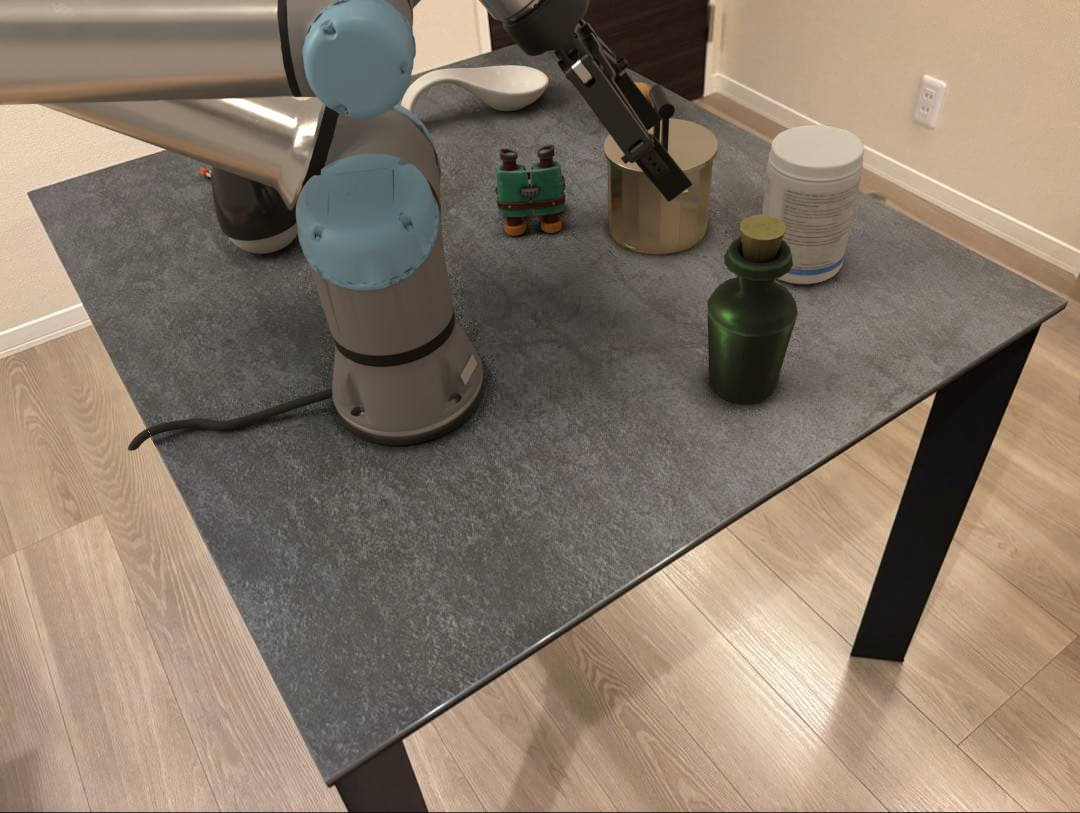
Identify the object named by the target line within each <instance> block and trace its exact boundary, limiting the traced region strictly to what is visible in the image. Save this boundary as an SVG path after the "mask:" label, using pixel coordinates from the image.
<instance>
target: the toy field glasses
mask: <svg viewBox="0 0 1080 813" xmlns="http://www.w3.org/2000/svg"><path fill="white" fill-rule="evenodd" d="M536 155H537V158H539V162H536V163H533V164H532V165H531V168H530V169H531V170H530V171H527V168H526V165H523V164H520V163H517V160H518V156H519V155H518V152H517V151H515V150H513V149H510V148H500V149H499V159H500V161H502V164H500V165H498V166H497V168H496V187H495V189H494V192H495V194H496V196H497V197H496V201H495V202H496V207H497V208H498V214H499V215H500V216H501V217H503V218H506V219H505V220H504V222H503V227H504V232H505V234H507V235H508V236H512V237H513V236H514V237H516V236H520V235H523V233H524V232H526V230H527V224H526V219H525V218H524V217H531V216H534V217H536V216H537V217H538V216H541V217H540V220H539V221H540V223H539V224H540V229H541V230H542V231H543V232H545V233H549V234H550V233H551V234H554V233H557V232H559V231H561V229H562V227H563V220H562V216H560V213H562V212H563V211H565V209H566V193H565V190H566V177H565V175H563V174H562V167H561V163H560V162H559V161H557V160H554V156H555V146H554V144H548V145H544V146H542V147H540V148H538V149H537V151H536ZM529 181H530V183H529Z"/></svg>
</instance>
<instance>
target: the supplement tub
mask: <svg viewBox="0 0 1080 813" xmlns="http://www.w3.org/2000/svg"><path fill="white" fill-rule="evenodd" d="M864 154H865V145H864V142H863V141H862V140H861V138H859V137H858V136H857V135H856V134H855V133H853V132H850V131H849V130H847V129H843V128H840V127H837V126H831V125H822V124H809V125H808V124H807V125H799V126H794V127H791V128H788V129H786V130H783V131H781V132H780V133H778V134H777V135H776V136H775V137H774V138H773V140H772V142H771V147H770V152H769V153H768V159H767V160H768V162H767V167H766V177H765V185H764V193H763V194H764V195H763V202H762V212H761V215H769V216H773V217H776V218H778V219H780V220H782V221H783V222H784V224H785V225H786V231H785V234H784V236H783V239H782V240H784V241H785V242H786V243H787V244H788V246H789V247H790V250H791V255H792V260H793V266H792V268H791V270H790V271H789V272H788V273H787V274H785V275H783V276H782V277H780V278H776V279H777V280H779V281H783V282H786V283H789V284H795V285H810V284H818V283H822V282H824V281H827V280H829V279H831V278H833V277H834V276H836V274H838V273H839V271H840V270H841V269H842V267H843V264H844V261H845V256H846V251H847V247H848V246H847V245H848V241H849V236H850V231H851V227H852V222H853V217H854V212H855V207H856V203H857V198H858V193H859V187H860V183H861V179H862V174H863V169H864V168H863V167H864Z"/></svg>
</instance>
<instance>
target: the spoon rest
mask: <svg viewBox="0 0 1080 813" xmlns="http://www.w3.org/2000/svg"><path fill="white" fill-rule="evenodd" d="M549 80H550V79H549V77H548V76H547V75H546V73H544V72H543V71H542V70H540V69H537V68H535V67H531V66H525V65H516V64H515V65H514V64H507V65H506V64H505V65H492V66H491V65H490V66H482V67H456V68H455V67H451V68H442V69H436V70H432V71H430V72H426V73H425V74H423V75H422V76H419V77H418V78H417V79H415V81H413V82H412V83H411V84H410V85H409V86H408V89H407V91H406V93H405V94H404V96H403V98H402V99H401V101H400V102H401V103H400V105H401V106H403V107H405V108H406V109H408V110H409V111H411V112H412V113H413V114H414V115H415V107H416V104H417V102H418V100H419V98H421V96H422V95H423V94H424V93H425V92H427V91H428V90H430V89H431V88H433V87H435V86H438V85H440V84H442V85H443V84H450V85H451V84H452V85H455V86H458V87H461V88H462V89H463V90H466V91H467V92H468V93H470V94H471V95H473V96H474V97H476V99H478V100H480V101H481V102H482V103H484V104H485V105H487V106H489V107H490V108H492V109H493V110H495V111H500V112H514V111H519V110H521V109H524V108H525V107H527V106H529V105H531V104H533V103H534V102H536V101H537V100H539V98H540V97H541V96H542V95H543V94H544V92H545V91H546V89H547V88H548V86H549V82H550V81H549Z"/></svg>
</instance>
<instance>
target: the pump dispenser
mask: <svg viewBox="0 0 1080 813" xmlns="http://www.w3.org/2000/svg"><path fill="white" fill-rule="evenodd" d="M210 170H211V178H210V183H211V194H213V195H212V200H213V206H214V211H215V214H216V219H217V222H218V225H219V228H220V230H221V232H222V233H223V234H224V235H225V236H226V237H228V239H229V241H231V243H233V245H235V246H236V247H238V248H239V249H240V250H243V251H245V252H247V253H251V254H260V255H265V254H271V253H275V252H278V251H280V250H282V249H284V248H286V247H287V246H289V245H290V244H291V243H293V241H294V240H295V239H296V238H297V237H298V225H297V221H296V212H294V211H291V210H288V209H287V207H286V205H285V203H284V202H283V200H282V198H281V196H280V195H279V193H278V191H277V190H276V189H274V188H273V187H270V186H267V185H264V184H261V183H259V182H256V181H253V180H250V179H247V178H244V177H242V176H239V175H236V174H233V173H230V172H228V171H225V170H222V169H219V168H216V167H213V166H211V165H210Z"/></svg>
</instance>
